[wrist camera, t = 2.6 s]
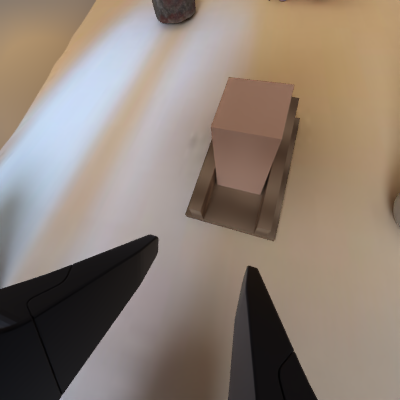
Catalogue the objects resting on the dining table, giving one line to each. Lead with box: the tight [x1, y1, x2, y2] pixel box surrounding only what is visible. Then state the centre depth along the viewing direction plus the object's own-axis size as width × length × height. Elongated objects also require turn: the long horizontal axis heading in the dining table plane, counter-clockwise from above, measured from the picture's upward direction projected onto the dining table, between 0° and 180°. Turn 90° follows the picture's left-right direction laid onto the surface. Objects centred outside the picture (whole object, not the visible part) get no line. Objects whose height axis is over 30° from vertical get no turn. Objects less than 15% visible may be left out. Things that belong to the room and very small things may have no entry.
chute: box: [185, 97, 300, 241], centre depth 24 cm, size 16×10×4 cm, turn 162°
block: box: [211, 77, 294, 195], centre depth 20 cm, size 5×5×10 cm
